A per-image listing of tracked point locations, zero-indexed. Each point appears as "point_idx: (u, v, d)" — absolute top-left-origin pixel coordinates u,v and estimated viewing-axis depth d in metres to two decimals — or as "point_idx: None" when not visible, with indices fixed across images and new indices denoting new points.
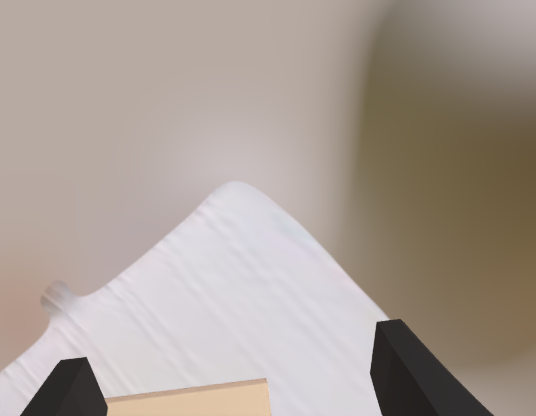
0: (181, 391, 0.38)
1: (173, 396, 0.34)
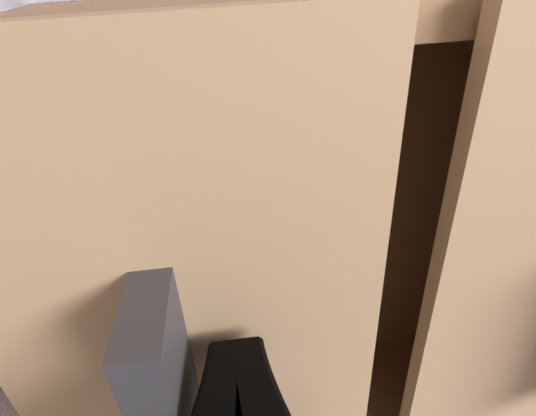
0: None
1: None
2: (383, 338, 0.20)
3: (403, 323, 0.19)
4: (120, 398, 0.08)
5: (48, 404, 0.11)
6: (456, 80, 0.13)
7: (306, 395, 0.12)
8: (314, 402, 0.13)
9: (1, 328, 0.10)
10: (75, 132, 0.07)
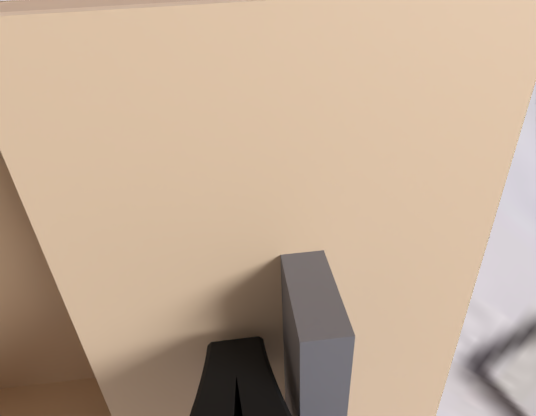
0: (134, 0, 0.10)
1: (94, 14, 0.06)
2: None
3: None
4: None
5: None
6: None
7: None
8: None
9: None
10: None
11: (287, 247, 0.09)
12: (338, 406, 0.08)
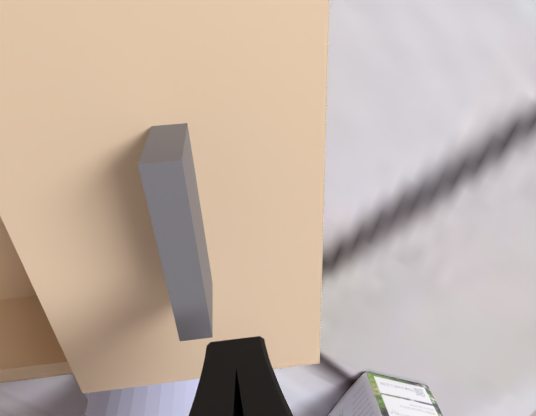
0: None
1: None
2: None
3: None
4: None
5: None
6: None
7: None
8: None
9: None
10: None
11: (156, 119, 0.12)
12: (186, 234, 0.11)
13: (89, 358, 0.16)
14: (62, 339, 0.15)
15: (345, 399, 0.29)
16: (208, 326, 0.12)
